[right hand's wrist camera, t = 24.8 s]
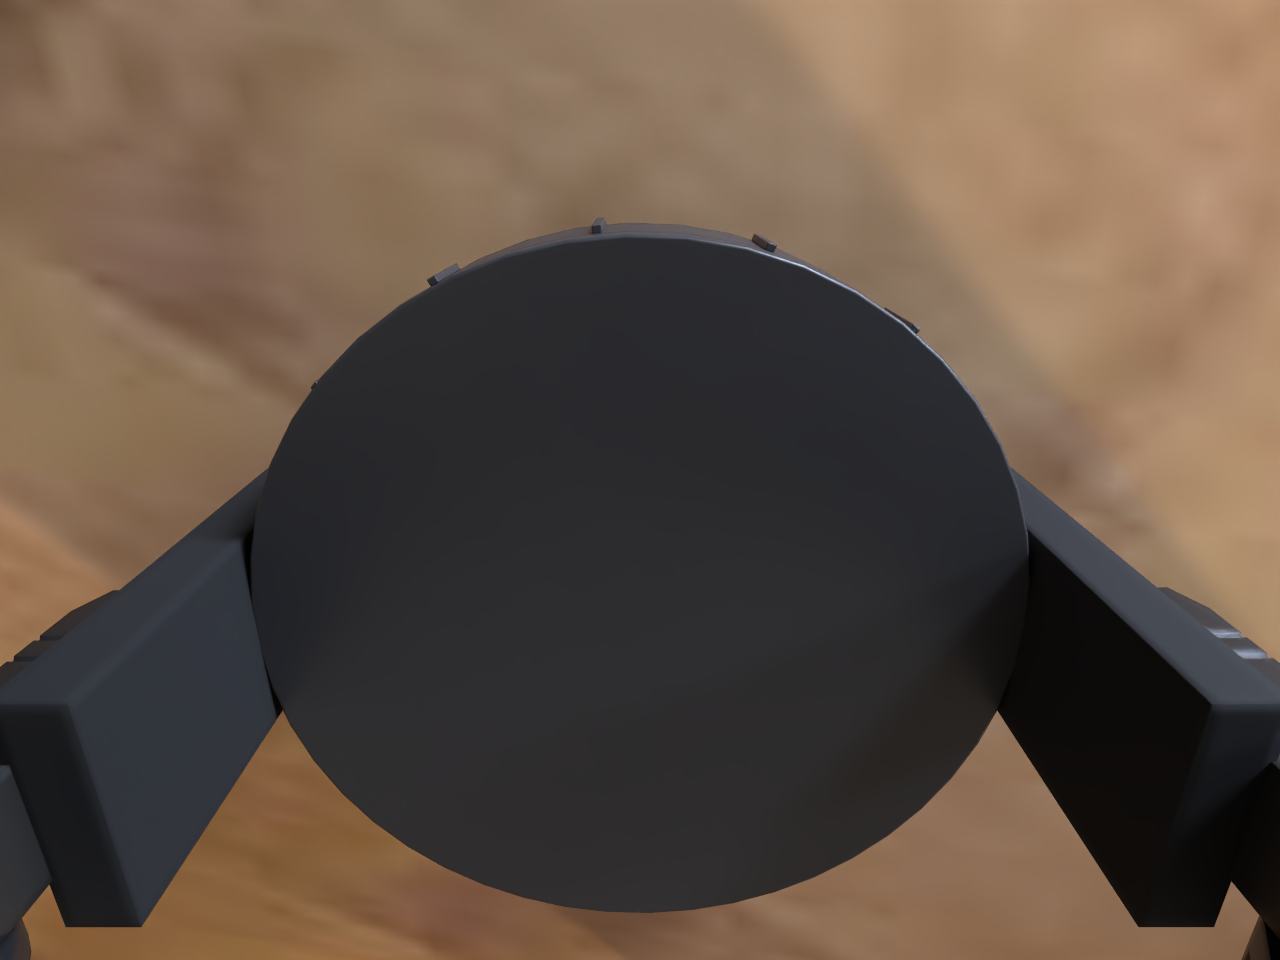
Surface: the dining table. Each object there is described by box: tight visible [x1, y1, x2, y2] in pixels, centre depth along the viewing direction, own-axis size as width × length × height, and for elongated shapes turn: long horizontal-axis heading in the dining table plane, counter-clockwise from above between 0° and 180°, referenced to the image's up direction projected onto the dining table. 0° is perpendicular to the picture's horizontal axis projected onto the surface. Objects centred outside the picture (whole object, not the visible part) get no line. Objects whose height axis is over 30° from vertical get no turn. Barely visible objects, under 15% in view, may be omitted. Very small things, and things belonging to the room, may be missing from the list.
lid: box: [250, 218, 1030, 913], centre depth 11 cm, size 10×10×2 cm
